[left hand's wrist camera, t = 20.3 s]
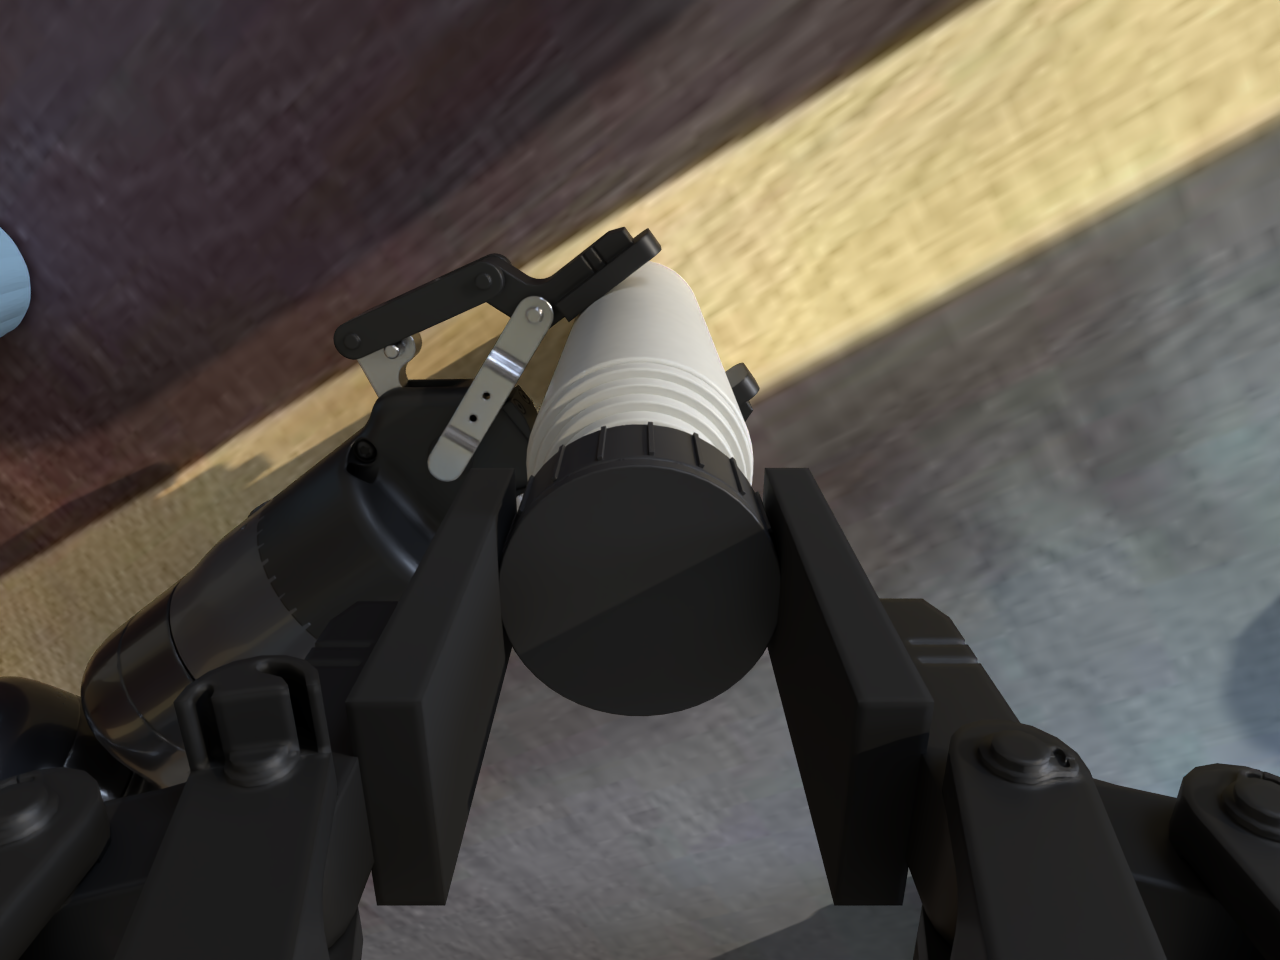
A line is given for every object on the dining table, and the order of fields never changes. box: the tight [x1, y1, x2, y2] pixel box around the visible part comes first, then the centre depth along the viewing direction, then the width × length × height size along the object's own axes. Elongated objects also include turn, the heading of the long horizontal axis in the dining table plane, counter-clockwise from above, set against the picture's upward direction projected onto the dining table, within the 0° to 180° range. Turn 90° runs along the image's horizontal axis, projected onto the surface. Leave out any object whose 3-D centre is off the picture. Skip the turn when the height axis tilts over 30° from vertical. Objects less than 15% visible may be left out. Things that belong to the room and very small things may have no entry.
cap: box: [499, 422, 781, 716], centre depth 14 cm, size 4×4×2 cm
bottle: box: [526, 261, 753, 486], centre depth 24 cm, size 5×5×22 cm
